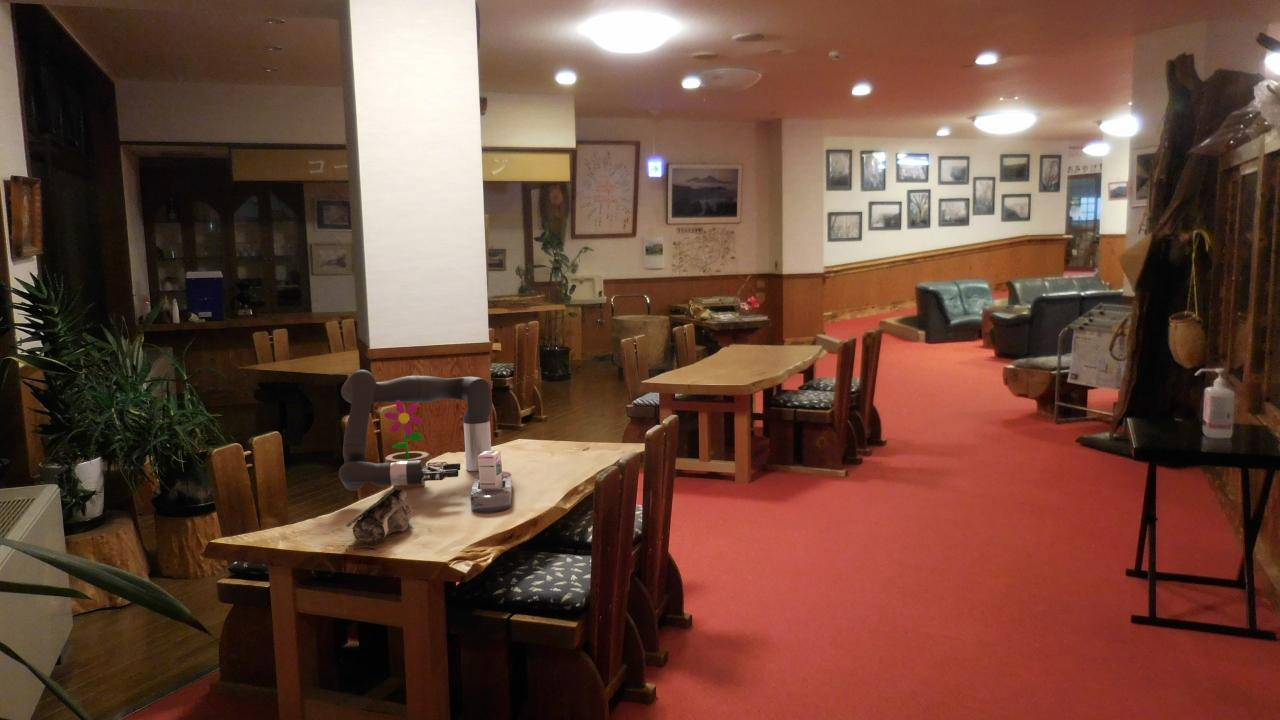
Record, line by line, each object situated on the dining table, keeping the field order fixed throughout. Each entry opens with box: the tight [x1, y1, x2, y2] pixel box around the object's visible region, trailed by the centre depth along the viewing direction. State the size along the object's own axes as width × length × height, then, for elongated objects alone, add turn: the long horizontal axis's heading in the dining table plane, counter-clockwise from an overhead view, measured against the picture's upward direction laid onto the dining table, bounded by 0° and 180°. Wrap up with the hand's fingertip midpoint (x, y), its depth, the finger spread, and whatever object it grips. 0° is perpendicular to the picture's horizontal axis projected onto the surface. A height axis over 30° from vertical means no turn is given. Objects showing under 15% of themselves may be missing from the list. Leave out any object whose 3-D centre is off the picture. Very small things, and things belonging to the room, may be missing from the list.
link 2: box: [469, 485, 513, 514], centre depth 280 cm, size 24×12×4 cm, turn 7°
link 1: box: [471, 470, 513, 491], centre depth 292 cm, size 24×12×4 cm, turn 7°
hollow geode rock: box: [345, 483, 414, 546], centre depth 250 cm, size 28×13×15 cm
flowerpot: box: [384, 400, 430, 491], centre depth 302 cm, size 14×14×30 cm
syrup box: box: [478, 450, 503, 489], centre depth 285 cm, size 6×6×14 cm
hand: (459, 469), depth 284 cm, fingers open, 8 cm apart
